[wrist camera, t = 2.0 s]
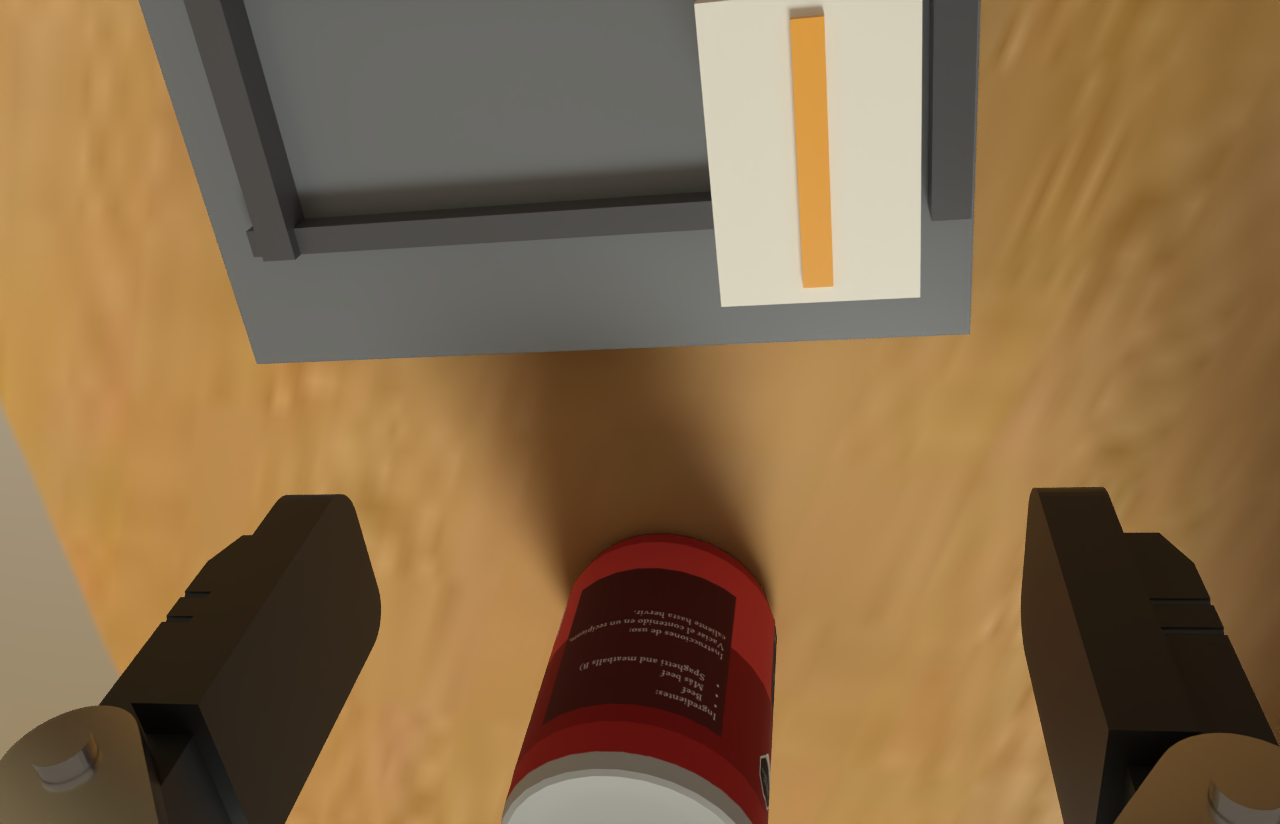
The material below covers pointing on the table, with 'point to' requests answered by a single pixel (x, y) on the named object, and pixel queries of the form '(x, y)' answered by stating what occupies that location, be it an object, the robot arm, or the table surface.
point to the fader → (813, 147)
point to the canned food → (654, 694)
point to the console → (507, 176)
